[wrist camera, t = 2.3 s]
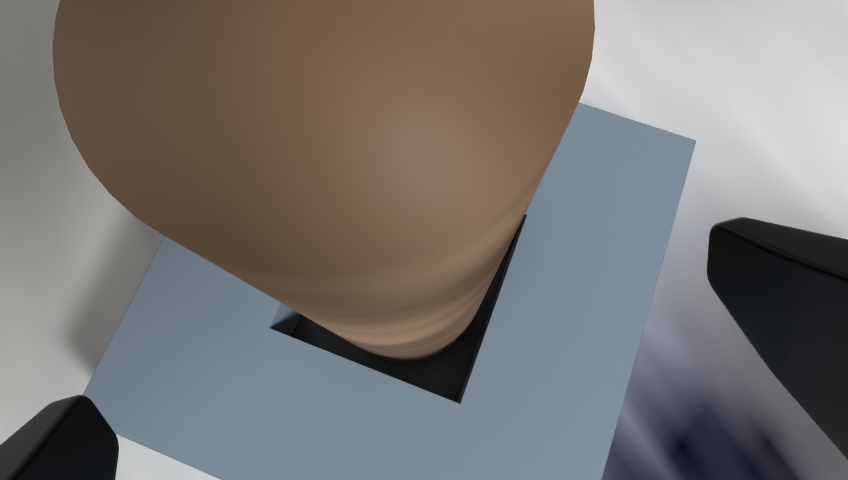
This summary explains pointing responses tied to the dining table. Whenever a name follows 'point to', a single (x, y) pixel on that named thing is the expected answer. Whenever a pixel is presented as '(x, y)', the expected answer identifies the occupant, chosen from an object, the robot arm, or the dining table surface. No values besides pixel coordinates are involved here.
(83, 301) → the dining table surface
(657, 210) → the slate holder block
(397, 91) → the walnut peg
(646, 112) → the dining table surface
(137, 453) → the dining table surface
